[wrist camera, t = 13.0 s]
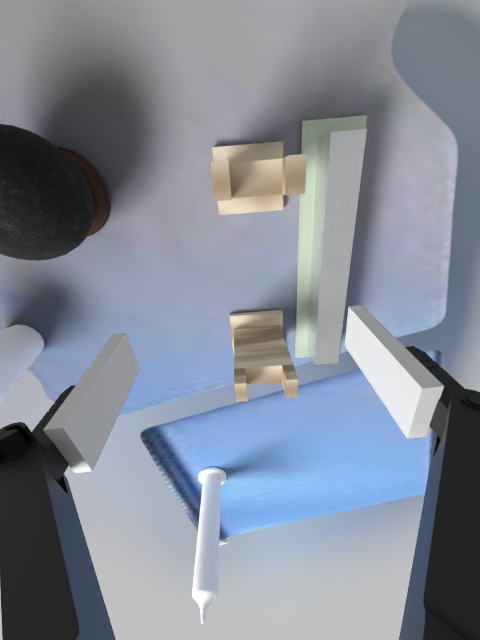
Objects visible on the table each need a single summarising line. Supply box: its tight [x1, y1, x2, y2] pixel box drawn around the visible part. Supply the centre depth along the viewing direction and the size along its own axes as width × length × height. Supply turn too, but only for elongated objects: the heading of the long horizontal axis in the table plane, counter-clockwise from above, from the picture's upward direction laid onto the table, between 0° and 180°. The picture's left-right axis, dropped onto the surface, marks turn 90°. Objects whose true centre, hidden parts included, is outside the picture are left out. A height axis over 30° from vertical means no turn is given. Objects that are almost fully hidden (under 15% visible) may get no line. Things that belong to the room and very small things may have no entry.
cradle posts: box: [211, 141, 307, 402], centre depth 35 cm, size 32×9×15 cm, turn 4°
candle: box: [192, 467, 227, 624], centre depth 55 cm, size 7×7×25 cm
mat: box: [295, 115, 367, 358], centre depth 41 cm, size 36×8×1 cm, turn 4°
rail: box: [307, 129, 367, 365], centre depth 38 cm, size 32×4×5 cm, turn 4°
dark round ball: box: [0, 124, 110, 260], centre depth 29 cm, size 13×13×15 cm
